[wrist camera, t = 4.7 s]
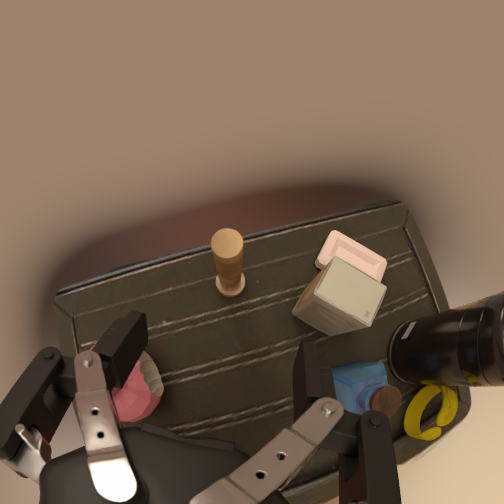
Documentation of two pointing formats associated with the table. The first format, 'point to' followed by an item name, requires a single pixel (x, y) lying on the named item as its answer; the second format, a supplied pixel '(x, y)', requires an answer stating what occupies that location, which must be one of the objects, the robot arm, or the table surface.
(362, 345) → the table surface
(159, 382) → the apple
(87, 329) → the table surface
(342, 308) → the cosmetic box
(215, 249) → the stick
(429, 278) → the table surface
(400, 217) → the table surface
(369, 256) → the soap bar
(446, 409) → the bracelet
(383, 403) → the blue potion bottle
